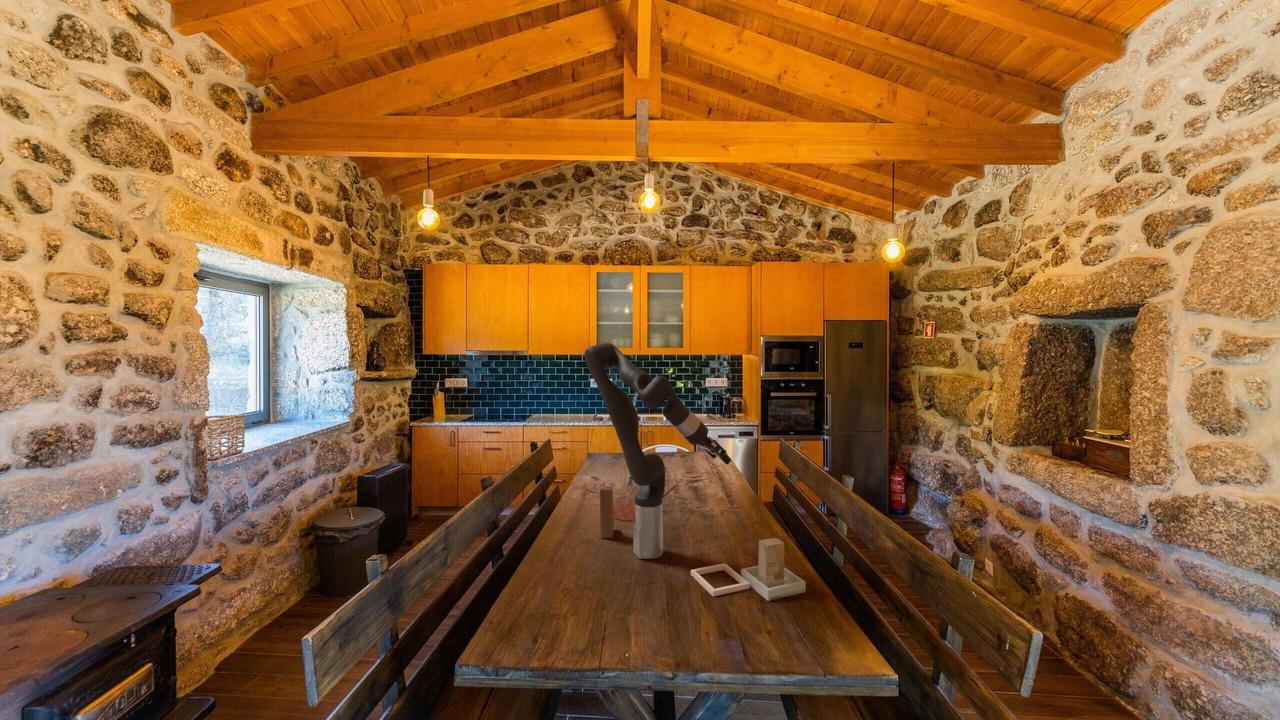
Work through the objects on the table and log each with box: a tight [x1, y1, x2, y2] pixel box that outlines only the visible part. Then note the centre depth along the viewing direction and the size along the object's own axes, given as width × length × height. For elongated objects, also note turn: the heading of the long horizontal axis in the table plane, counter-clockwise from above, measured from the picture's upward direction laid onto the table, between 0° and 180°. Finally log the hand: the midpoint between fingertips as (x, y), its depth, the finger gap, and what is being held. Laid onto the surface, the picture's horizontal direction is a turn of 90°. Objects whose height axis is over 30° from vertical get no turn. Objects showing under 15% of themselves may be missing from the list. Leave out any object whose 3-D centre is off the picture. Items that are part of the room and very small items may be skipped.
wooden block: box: [599, 485, 615, 539], centre depth 186 cm, size 9×4×18 cm, turn 1°
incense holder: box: [613, 483, 678, 522], centre depth 210 cm, size 21×30×11 cm
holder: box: [690, 563, 751, 597], centre depth 149 cm, size 12×14×2 cm
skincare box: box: [758, 537, 785, 587], centre depth 145 cm, size 6×4×12 cm
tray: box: [740, 565, 807, 602], centre depth 146 cm, size 13×14×3 cm
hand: (722, 459), depth 164 cm, fingers open, 8 cm apart
